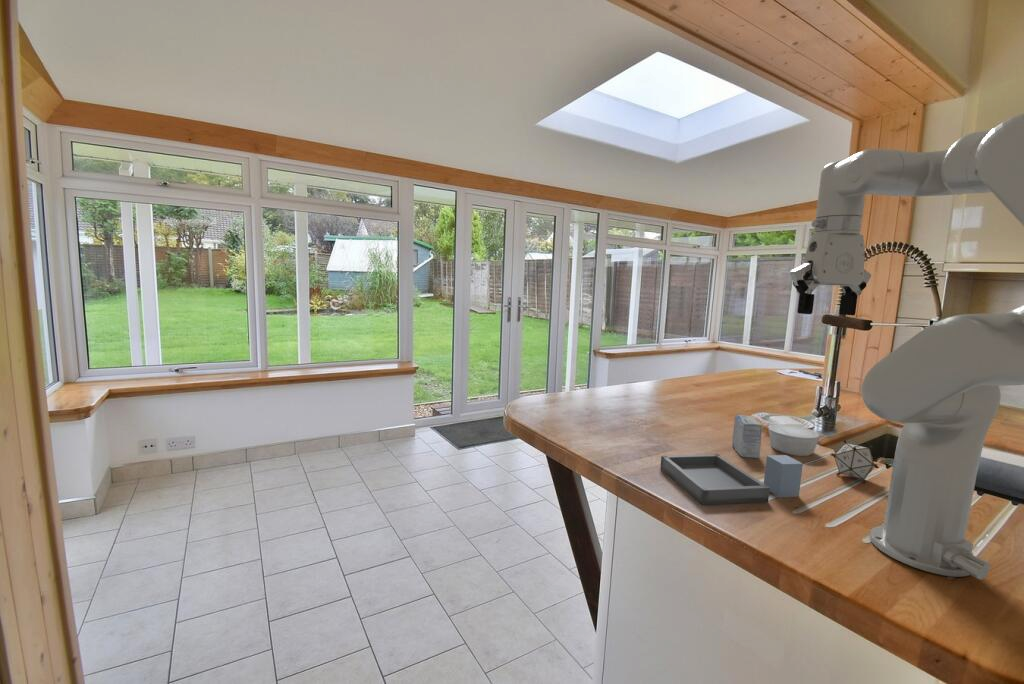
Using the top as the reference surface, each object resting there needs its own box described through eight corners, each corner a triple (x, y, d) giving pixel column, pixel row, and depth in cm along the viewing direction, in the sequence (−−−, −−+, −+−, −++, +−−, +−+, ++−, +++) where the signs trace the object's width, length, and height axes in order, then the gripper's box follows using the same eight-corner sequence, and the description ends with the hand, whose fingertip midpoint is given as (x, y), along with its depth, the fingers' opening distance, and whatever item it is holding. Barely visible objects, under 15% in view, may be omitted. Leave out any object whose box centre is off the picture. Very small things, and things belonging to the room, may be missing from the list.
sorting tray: (768, 502, 89) (769, 487, 88) (702, 505, 87) (703, 490, 86) (716, 466, 106) (718, 454, 105) (660, 468, 103) (661, 455, 103)
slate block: (798, 496, 92) (802, 463, 91) (778, 497, 91) (782, 464, 90) (782, 486, 96) (786, 454, 95) (763, 487, 96) (766, 455, 95)
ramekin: (756, 444, 122) (759, 425, 121) (786, 440, 126) (789, 422, 125) (795, 460, 111) (798, 439, 111) (827, 455, 115) (829, 435, 115)
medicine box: (759, 459, 111) (763, 425, 110) (740, 457, 112) (743, 423, 111) (749, 447, 119) (753, 415, 118) (731, 446, 120) (734, 414, 118)
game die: (852, 497, 101) (853, 470, 95) (821, 469, 108) (820, 443, 102) (889, 478, 101) (891, 451, 95) (855, 452, 108) (855, 425, 102)
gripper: (813, 223, 84) (802, 315, 87) (893, 227, 87) (880, 316, 89) (783, 227, 92) (774, 312, 94) (858, 231, 94) (846, 313, 97)
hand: (825, 314), depth 92 cm, fingers open, 9 cm apart
